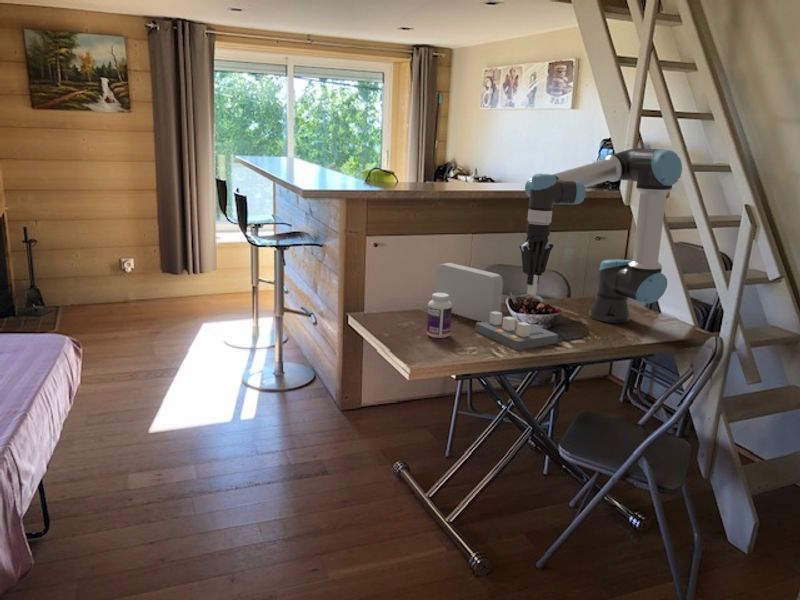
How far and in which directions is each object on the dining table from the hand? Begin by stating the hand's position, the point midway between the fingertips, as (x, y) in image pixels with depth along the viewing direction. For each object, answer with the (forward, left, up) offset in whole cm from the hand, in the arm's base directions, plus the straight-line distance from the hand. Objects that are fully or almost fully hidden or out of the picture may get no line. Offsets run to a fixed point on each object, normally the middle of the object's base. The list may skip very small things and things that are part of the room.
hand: (531, 294), depth 208 cm
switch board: (0, -6, -17) cm, 18 cm away
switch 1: (+4, -13, -14) cm, 19 cm away
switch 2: (+3, +1, -14) cm, 14 cm away
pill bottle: (+24, -18, -17) cm, 34 cm away
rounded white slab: (0, -35, -17) cm, 39 cm away
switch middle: (+4, -6, -14) cm, 15 cm away
